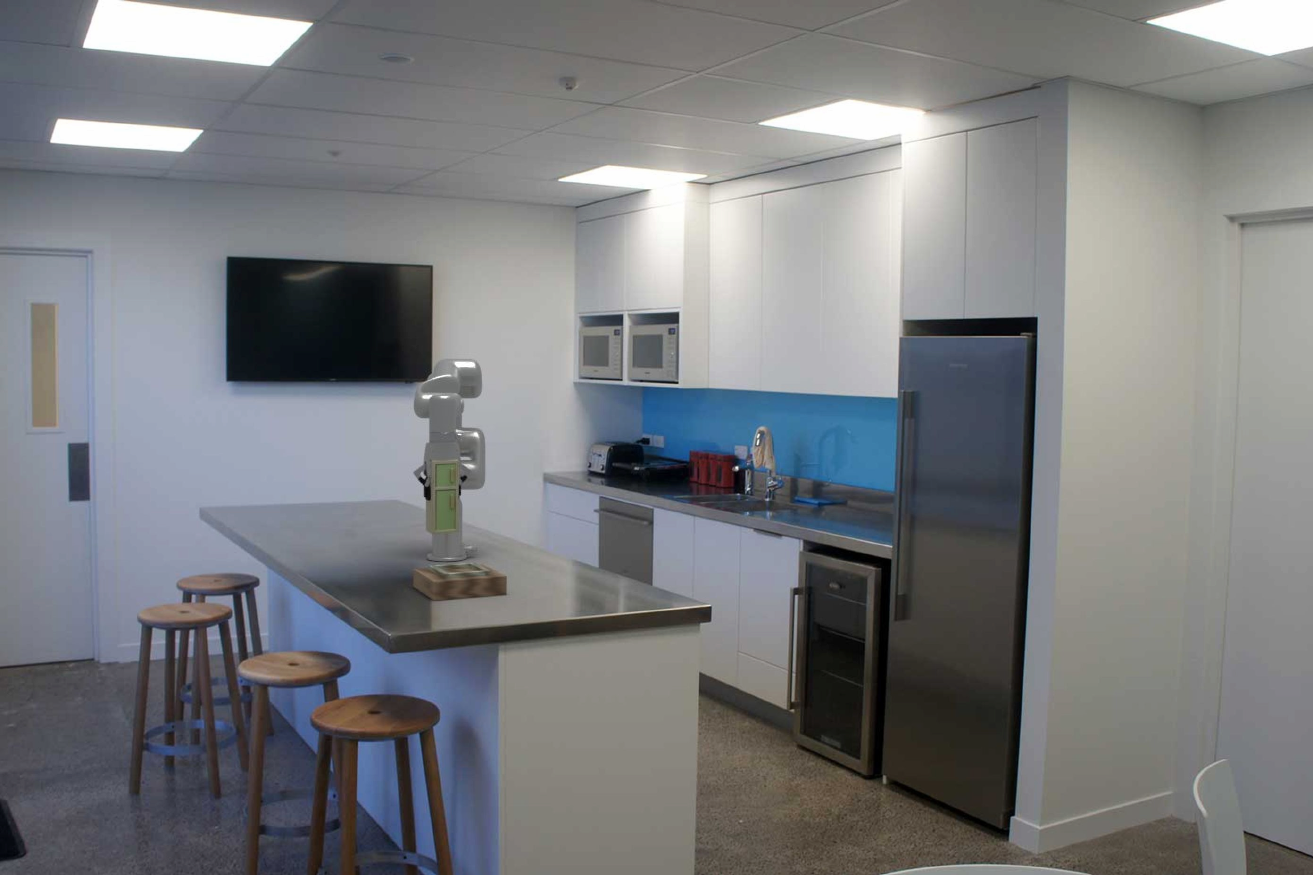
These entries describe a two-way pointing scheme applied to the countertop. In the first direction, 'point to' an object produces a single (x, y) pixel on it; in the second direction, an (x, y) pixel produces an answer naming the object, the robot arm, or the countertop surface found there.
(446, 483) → the toy refrigerator
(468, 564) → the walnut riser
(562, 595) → the countertop surface
